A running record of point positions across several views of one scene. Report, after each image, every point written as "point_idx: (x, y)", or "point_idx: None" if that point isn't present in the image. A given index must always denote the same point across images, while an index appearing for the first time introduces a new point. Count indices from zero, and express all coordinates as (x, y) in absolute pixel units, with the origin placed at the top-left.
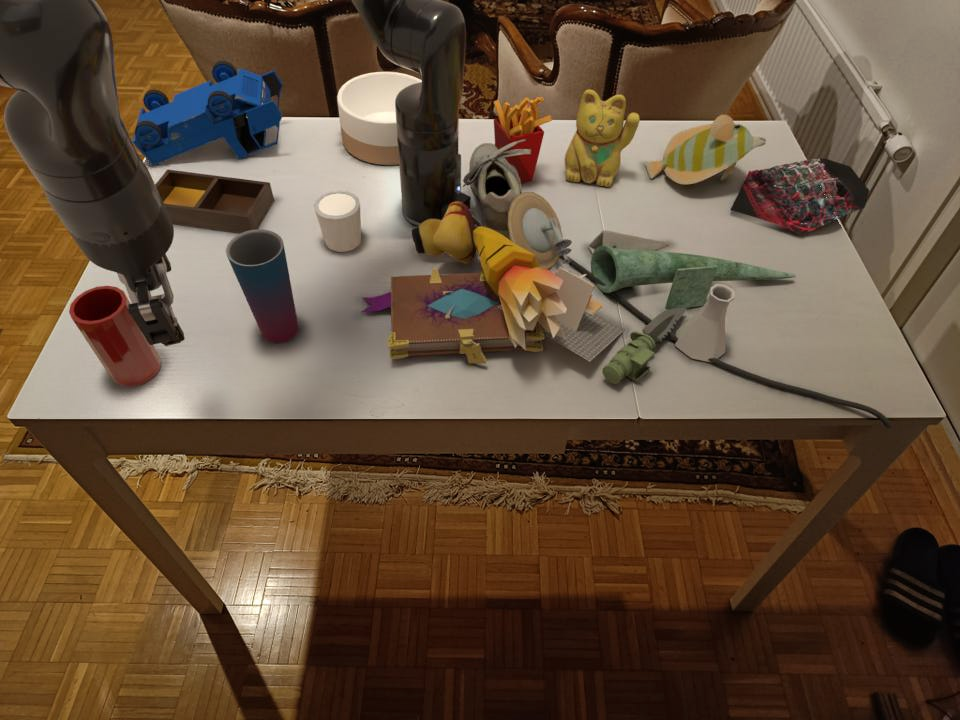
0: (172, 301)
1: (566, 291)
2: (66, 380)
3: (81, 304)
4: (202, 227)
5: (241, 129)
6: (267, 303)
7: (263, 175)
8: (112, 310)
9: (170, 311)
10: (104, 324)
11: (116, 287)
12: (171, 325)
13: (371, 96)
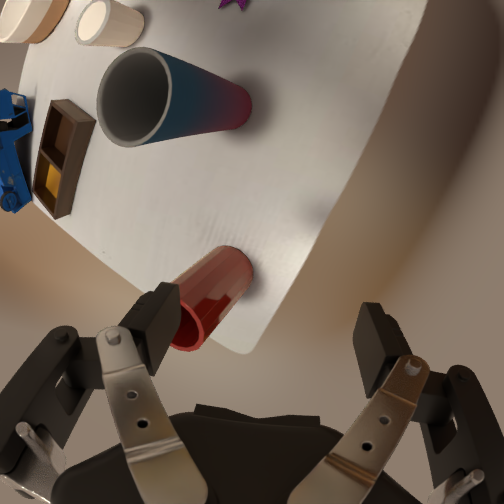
0: (414, 406)
1: None
2: (223, 323)
3: None
4: (80, 169)
5: (14, 127)
6: (218, 104)
7: (46, 109)
8: None
9: (418, 397)
10: (205, 327)
11: None
12: (482, 410)
13: (15, 21)
